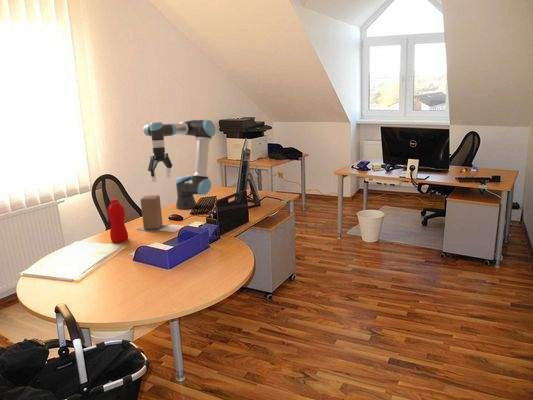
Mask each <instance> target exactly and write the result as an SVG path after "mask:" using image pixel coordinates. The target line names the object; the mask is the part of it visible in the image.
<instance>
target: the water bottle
mask: <svg viewBox="0 0 533 400" xmlns="http://www.w3.org/2000/svg"><path fill="white" fill-rule="evenodd" d="M109 203H110V204H109V206H108V207H107V209H106V210H107V211H106V213H107V216H108V219H109V223H110V233H109V234H110V235H109V238H110V241H111V242H112V243H116V244H117V243H122V242H125V241H127V240H128V239H129V233H128V231H127V227H126V224H125V216H126V215H125V213H126V214H127V216H129V215H128V212H127V209H126V208H125V207H124V206H123V204H121V202H120V201H119V199H117V198H112V199H110V201H109ZM128 218H129V217H127V218H126V220H128Z"/></svg>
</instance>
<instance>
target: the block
mask: <svg viewBox="0 0 533 400" xmlns="http://www.w3.org/2000/svg"><path fill="white" fill-rule="evenodd" d="M140 208H141V217H142V224H143V227H144V229H145V230H146V229H159V228H160V227H161V226H162V225H164V223H163V216H162V205H161V197H160V195H159V194H155V195H145V196H143V197H141V198H140Z"/></svg>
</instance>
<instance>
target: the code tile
mask: <svg viewBox="0 0 533 400" xmlns="http://www.w3.org/2000/svg"><path fill="white" fill-rule="evenodd" d="M167 226H169V224H168V225H167V224H162V226H161V227H160V228H159V229H146V230H145V229H144V226H143V227H140V228H137V231H143V232H149V233H150V232H151V233H155V232H158V231H160V229H162V228H165V227H167Z"/></svg>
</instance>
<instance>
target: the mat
mask: <svg viewBox="0 0 533 400" xmlns="http://www.w3.org/2000/svg"><path fill="white" fill-rule="evenodd" d="M168 225H169V224H168ZM184 226H185V225H179V224H178V225H177V224H170V225H169V226H167V227H165V228H162V229H160V230H159V232H160V231H161V232H167V233H168V232H169V233H176V232H179V231H181V230H182V229H181V228H182V227H184ZM180 229H181V230H180Z"/></svg>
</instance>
